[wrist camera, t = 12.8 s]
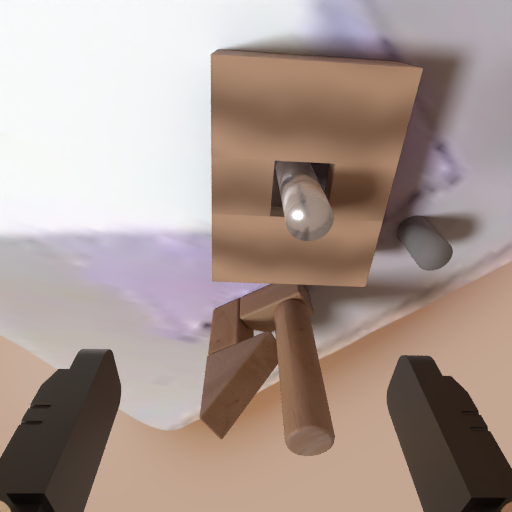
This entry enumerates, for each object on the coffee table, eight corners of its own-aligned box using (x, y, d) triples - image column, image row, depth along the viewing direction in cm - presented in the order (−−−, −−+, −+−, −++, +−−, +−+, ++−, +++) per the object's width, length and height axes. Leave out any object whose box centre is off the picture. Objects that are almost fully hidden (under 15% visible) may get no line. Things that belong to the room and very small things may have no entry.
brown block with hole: (217, 49, 29) (210, 54, 24) (393, 60, 29) (423, 67, 24) (217, 247, 38) (212, 281, 33) (350, 252, 39) (365, 286, 34)
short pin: (402, 215, 37) (422, 239, 32) (433, 216, 37) (457, 241, 33) (394, 242, 38) (412, 269, 34) (424, 244, 39) (445, 271, 34)
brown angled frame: (212, 308, 43) (192, 465, 27) (296, 271, 40) (325, 421, 25) (228, 329, 44) (218, 487, 29) (310, 294, 42) (345, 448, 27)
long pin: (276, 148, 33) (288, 197, 24) (312, 150, 33) (337, 199, 24) (274, 182, 35) (283, 240, 25) (307, 184, 35) (329, 242, 25)
